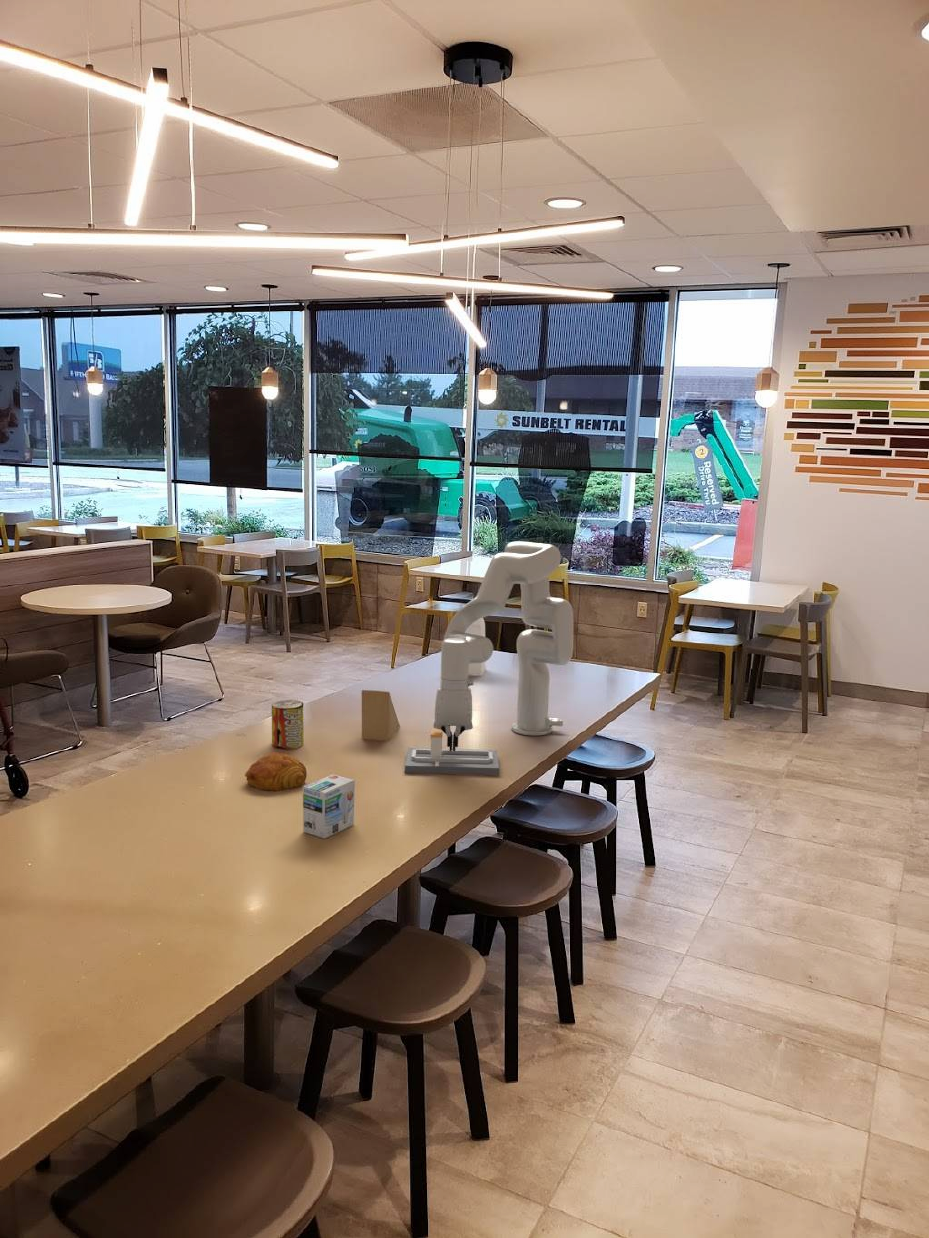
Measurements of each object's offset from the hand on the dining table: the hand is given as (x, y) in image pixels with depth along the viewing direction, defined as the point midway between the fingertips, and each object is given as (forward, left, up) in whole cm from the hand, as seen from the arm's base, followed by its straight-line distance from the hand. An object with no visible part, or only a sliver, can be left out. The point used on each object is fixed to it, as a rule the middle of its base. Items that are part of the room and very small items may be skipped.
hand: (452, 749), depth 254 cm
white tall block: (-6, -109, -5) cm, 109 cm away
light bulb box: (+27, +45, -5) cm, 53 cm away
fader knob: (+4, 0, -2) cm, 5 cm away
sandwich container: (+22, -28, -5) cm, 36 cm away
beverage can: (+47, -14, -5) cm, 50 cm away
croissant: (+45, +16, -5) cm, 48 cm away
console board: (0, 0, -4) cm, 4 cm away
